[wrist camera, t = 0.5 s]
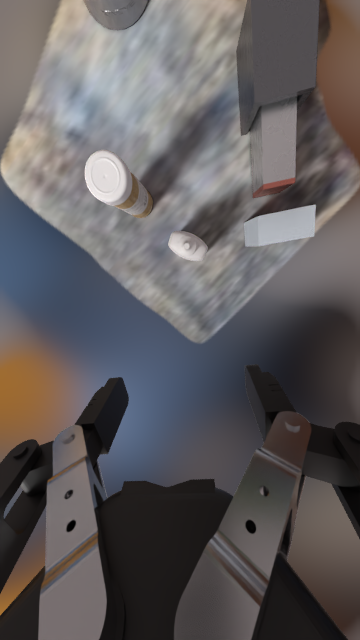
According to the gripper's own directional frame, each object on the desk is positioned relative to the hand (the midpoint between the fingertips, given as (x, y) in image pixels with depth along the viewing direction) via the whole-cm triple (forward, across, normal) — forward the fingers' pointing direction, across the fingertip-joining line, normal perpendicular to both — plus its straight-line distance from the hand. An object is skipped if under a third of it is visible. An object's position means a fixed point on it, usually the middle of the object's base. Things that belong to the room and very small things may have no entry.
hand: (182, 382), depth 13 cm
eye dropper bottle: (+26, -1, -8) cm, 28 cm away
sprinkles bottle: (+27, +6, -16) cm, 31 cm away
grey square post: (+26, -14, -21) cm, 36 cm away
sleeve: (+26, -14, -25) cm, 39 cm away
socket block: (+26, -14, -8) cm, 31 cm away
